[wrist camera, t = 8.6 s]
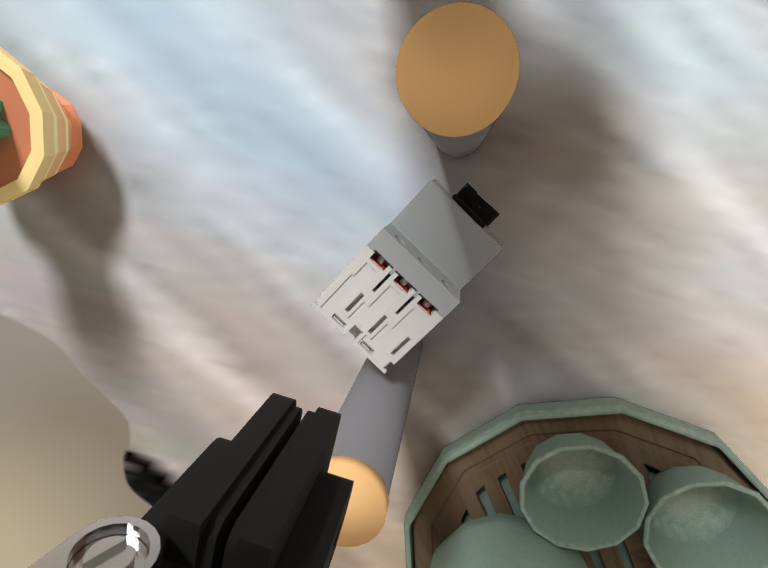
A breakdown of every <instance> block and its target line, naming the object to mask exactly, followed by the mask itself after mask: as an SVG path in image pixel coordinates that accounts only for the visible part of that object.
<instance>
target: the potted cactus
mask: <svg viewBox="0 0 768 568" xmlns="http://www.w3.org/2000/svg"><path fill="white" fill-rule="evenodd" d="M82 148H83V137H82V124H81V122H80V120H79V118H78V116H77V114H76V112H75V110H74V108H73V105H72V104H71V103H69V102H68V101H67V100H66V99H64V98H63V97H62V96H61V95H60V94H58V93H57V92H56V91H52V90H50V89H49V88H48V87H47V86H45V85H44V84H43V83H42V82H41V81H39V80H38V79H37V78H36V77H35V76H34V74H33V73H32V72H30V71H29V70H28V69H27V68H26V67H24V66H23V65H22V64H21V63H20V62H18V61H17V60H16V59H15V58H13V57H12V56H11V55H10V54H9V53H7V52H6V51H5V50H4V49H2V48H1V47H0V205H2V204H5V203H8V202H11V201H13V200H15V199H17V198H19V197H21V196H23V195H25V194H27V193H29V192H31V191H33V190H35V189H37V188H39V187H40V185H41V183H42V181H44V180H46V179H48V178H50V177H52V176H54V175H56V173H59V172H61V171H63V170H65V169H67V168H69V167H71V166H73V165H74V164H75V162H76V160H77V158H78V156H79V154H80V152H81V150H82Z"/></svg>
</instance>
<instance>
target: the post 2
mask: <svg viewBox="0 0 768 568" xmlns="http://www.w3.org/2000/svg"><path fill="white" fill-rule="evenodd" d="M519 72H520V56H519V49H518V46H517V42H516V40H515V37H514V35H513V33H512V31H511V30H510V28H509V26H508V25H507V24H506V23H505V21H504V20H503V19H502V18H501V17H500V16H499V15H497V14H496V13H495V12H493V11H492V10H490V9H488V8H486V7H484V6H481V5H478V4H475V3H468V2H457V3H450V4H446V5H443V6H440V7H438V8H436V9H434V10H432V11H430V12H429V13H427V14H426V15H424V16H423V17H422V18H421V19H419V20H418V21H417V23H416V24H415V25H414V26H413V27H412V28H411V30H410V31H409V32H408V34H407V35H406V37H405V39H404V41H403V43H402V45H401V48H400V51H399V54H398V58H397V64H396V83H397V89H398V92H399V95H400V98H401V101H402V103H403V105H404V107H405V108H406V110H407V111H408V113H409V114H410V115H411V116H412V117H413V119H414V120H415V121H416V122H417V123H418V124H419V125H421V126H422V127H423V128H424V130H425V131H426V132H427V133H428V135H429V136H430V137H431V139H432V140H433V141H434V143H435V144H436V145H437V147H438V148H439V149H440V150H441V151H442V152H444V153H445V154H447V155H449V156H453V157H463V156H466V155H469V154H471V153H472V152H474V151H475V150H476V149H477V148H478V147H479V146H480V145H481V143H482V142H483V140H484V138H485V137H486V135H487V133H488V132H489V130H490V128H491V127H492V125H493V123H494V122H495V120H496V119H497V118H498V117H499V115H500V114H501V113H502V112H503V111H504V109H505V108H506V106H507V105H508V103H509V102H510V100H511V98H512V96H513V94H514V91H515V89H516V86H517V82H518V78H519Z"/></svg>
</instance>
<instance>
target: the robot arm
mask: <svg viewBox="0 0 768 568" xmlns="http://www.w3.org/2000/svg"><path fill="white" fill-rule="evenodd" d="M301 416H302V408H299V407H296V400H295V399H291V398H288V397H285V396H282V395H279V394H275V393H273V394H272V395H271V396H270V397H269V398H268V399H267V400H266V402H265V403H264V404H263V405H262V406H261V407H260V408H259V410H258V411H257V412H256V413H255V414H254V415H253V417H252V418H251V419H250V420H249V421H248V422H247V423H246V425H245V426H244V427H243V428H242V429H241V430H240V432H239V433H238V434H237V435H236V436H235V437H234V439H233V440H232V441H230V440H227V439H224V438H221V437H220V438H217V439H216V440H215V441H213V442H212V443H211V444H210V445H209V446H208V448H207V449H206V450H205V451H204V452H203V453H202V454H201V455H200V456H199V457H198V458H197V459H196V460H195V462H194V463H193V464H192V465H191V466H190V467H189V468H188V469H187V470H186V471H185V472H184V473H183V474H182V475H181V477H180V478H179V479H178V480H177V481H176V482H175V483H174V484H173V485H172V486H171V487H170V488H169V489H168V491H167V492H166V493H165V494H164V495H163V496H162V497H161V498H160V499H159V500H158V501H157V502H156V503H155V504H154V506H153V507H152V508H151V509H150V510H149V511H148V512H147V513H146V514H145V515H144V516H143V517H142V519H139V518H136V517H126V516H118V517H111V518H106V519H102V520H99V521H97V522H94V523H91V524H89V525H87V526H86V527H84V528H82V529H81V530H79V531H77V532H76V533H74V534H73V535H71V536H70V537H69V538H67V539H66V540H65V541H63V542H62V543H61V544H59V545H58V546H57V547H55V548H54V549H53V550H51V551H50V552H49V553H47V554H46V555H45V556H43V557H42V558H41V559H39V560H38V561H37V562H35V563H34V564H33V565H31V566H30V567H29V568H329V566H330V563H331V560H332V557H333V554H334V551H335V548H336V545H337V542H338V538H339V535H340V532H341V529H342V525H343V522H344V518H345V515H346V511H347V507H348V504H349V500H350V496H351V492H352V488H353V484H354V481H352V480H349V479H346V478H343V477H340V476H337V475H334V474H331V473H328V469H329V465H330V461H331V457H332V453H333V449H334V444H335V440H336V436H337V432H338V428H339V424H340V419H341V414H339V413H336V412H333V411H330V410H327V409H323V408H320V407H319V408H318V409H317V410H316V412H312V411H307V413H306V414H305V416H304V417H303V419H302V420H301ZM300 421H301V422H300Z"/></svg>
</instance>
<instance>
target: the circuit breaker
mask: <svg viewBox="0 0 768 568" xmlns="http://www.w3.org/2000/svg"><path fill="white" fill-rule="evenodd" d="M498 215H499V213H498V212H497V211H496V210H495V209H494V208H493V207H492V206H490V205H489V204H488V203H486V202H485V201H484V200H483V199H482V198H481V197H480V196H479V195H478V194H477V192H476V191H475V190H474V189H473V188H472V187H471V186H470V185H469V184H468V183H467V184H466V185H465V186H464V187H463V188H462V189H461V190H460V191H459V192H458V193H457V194H454V195H452V194H450V193H449V192H448V191H447V190H446V189H445V188H444V187H443V186H442V185H441V184H440V183H439V182H438V181H437V180H431V181H430V182H429V183H428V184H427V185H426V186H425V187H424V188H423V189H422V190H421V192H420V193H419V194H418V195H417V196H416V197H415V198H414V199H413V200H412V201H411V202H410V203H409V204H408V205H407V206H406V208H405V209H404V210H403V211H402V212H401V213H400V214H399V215H398V216H397V217H396V218H395V219H394V220H393V221H392V222H391V223H390V224H389V225H387V226H386V227H384V228H383V229H382V230H381V231H380V232H379V233H378V234H377V235H376V236H375V237H374V238H373V239H372V241H371V242H370V243H369V244H368V245H367V246H366V247H365V248H364V249H363V250H362V251H361V252H360V253H359V254H358V255H357V257H356V258H355V259H354V260H353V261H352V262H351V263H350V264H349V265H348V266H347V267H346V268H345V269H344V270H343V272H342V273H341V274H340V275H339V276H338V277H337V278H336V279H335V280H334V281H333V282H332V283H331V284H330V285H329V287H328V288H327V289H326V290H325V291H324V292H323V293H322V294H321V296H320V297H319V299H318V300H317V302H318V303H319V304H318V303H316V302H314V303H313V304H312V305H313V306H314V307H315V308H316V309H317V310H318V311H319V312H320V313H321V314H322V315H323V316H324V317H325V318H326V319H327V320H328V321H329V322H330V323H331V324H333V325H334V326H335V327H336V328H337V329H338V330H339V331H340V332H341V333H342V334H343V335H345V334H346V333H347V332H348V331H350V332H351V333H352V334H353V335H354V336H355V339H354V341H353V342H352V343H353V344H354V345H355V346H356V347H357V348H358V349H359V350H360V351H361V352H362V353H363V354H364V355H365V356H366V357H367V358H368V359H369V360H370V361H372V362H373V363H374V364H375V365H376V366H377V367H378V368H379V369H380V370H381V371H382V372H383V373H386V372H387V369H386V368H385V367H386V366H387V365H388V364H390V363H391V362H392V363H393V364H395V363H396V362H397V361H398V360H399V359H401V358H402V357H403V356H404V355H405V354H406V353H407V352H408V351H409V350H410V349H411V348H412V347H413V346H414V345H415V344H417V343H418V342H419V341H420V340H421V339H422V338H423V337H424V336H425V335H426V334H427V333H428V332H429V331H430V330H432V329H433V328H434V327H435V326H436V325H437V324H438V323H439V322H440V321H441V320H442V319H443V318H444V317H445V316H446V315H448V314H449V313H450V312H451V311H452V310H453V309H454V308H455V307H456V306H457V305H458V304H459V303H460V290H461V289H462V288H463V287H464V286H465V285H466V284H467V283H468V282H469V281H470V280H471V279H472V278H473V277H474V276H475V275H476V274H478V273H479V272H480V271H481V270H482V269H483V268H484V267H485V266H486V265H487V264H488V263H489V262H490V261H491V260H492V259H493V258H494V257H495V256H496V255H498V254H499V253H500V252H501V251H502V248H501V246H500V245H501V244H502V243H503V242H502V241H501V240H500V239H499V238H498V237H497V236H496V235H495V234H494V233H493V232H492V231H491V230H490V229H489V228H488V225H489V224H490V223H491V222H492V221H493V220H494V219H495V218H496V217H497V216H498ZM333 316H335V317H336V318H337V319H338V320H339V321H340V322H341V323H342V324H343V326H342V325H341V324H340V323H339V322H338V321H337V320H336V319H335V318H334V317H333ZM361 343H364V344H365V345H366V346H367V347H368V348H369V349H370V351H368V350H367V349H366V348H365V347H364V346H363V345H362V344H361Z"/></svg>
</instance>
